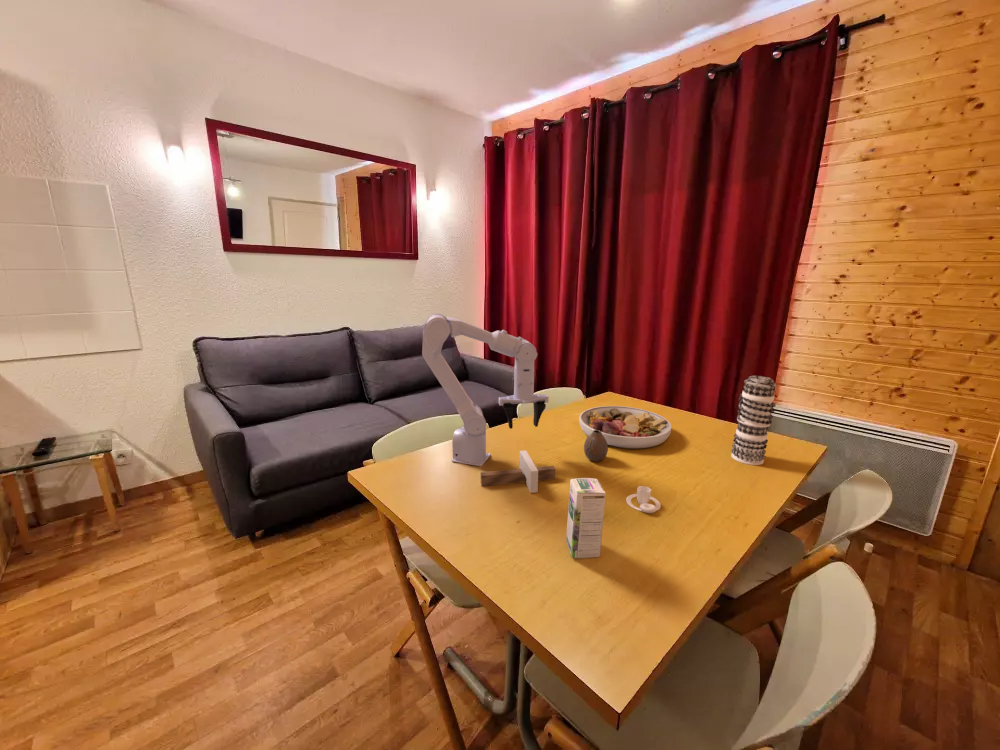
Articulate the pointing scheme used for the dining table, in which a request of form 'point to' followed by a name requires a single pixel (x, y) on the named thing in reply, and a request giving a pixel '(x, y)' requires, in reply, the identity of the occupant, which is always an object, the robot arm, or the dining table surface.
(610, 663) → the dining table surface
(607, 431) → the bowl
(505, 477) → the walnut rail
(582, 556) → the syrup box
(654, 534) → the dining table surface
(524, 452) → the notched white slab
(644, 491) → the teacup and saucer
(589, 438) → the vase
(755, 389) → the decorative candle
